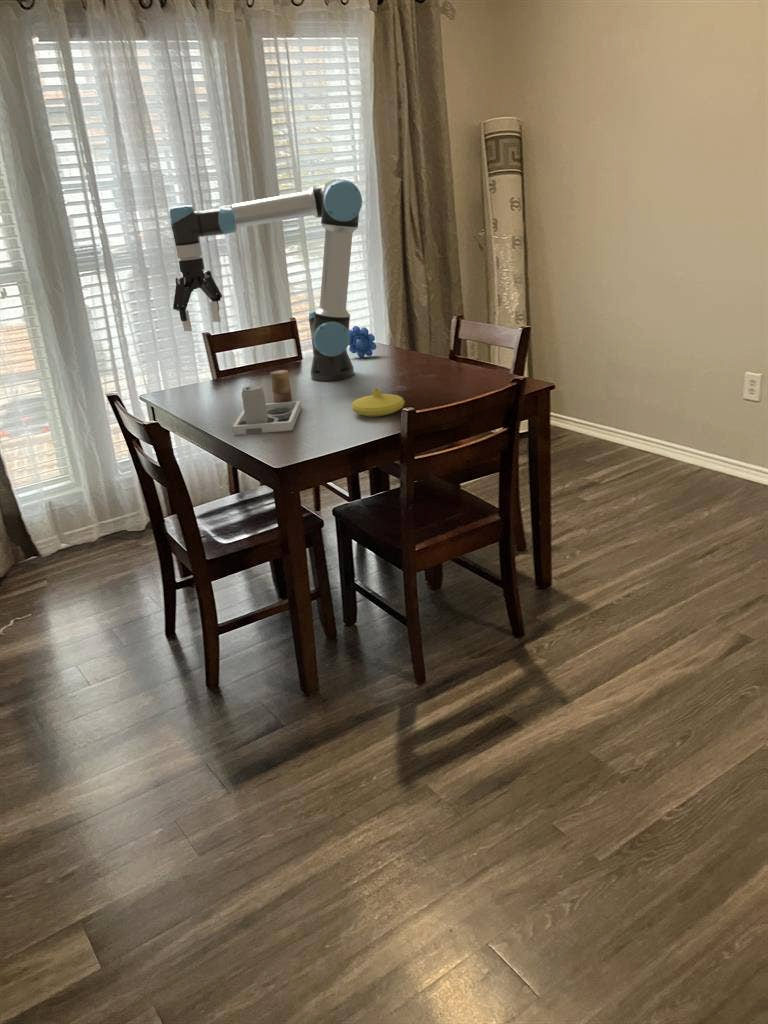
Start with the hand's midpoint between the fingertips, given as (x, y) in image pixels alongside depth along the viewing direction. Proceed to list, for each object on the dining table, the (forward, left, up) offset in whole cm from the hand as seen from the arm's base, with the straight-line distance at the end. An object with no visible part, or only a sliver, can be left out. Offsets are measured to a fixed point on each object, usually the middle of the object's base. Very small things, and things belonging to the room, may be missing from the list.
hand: (202, 326), depth 278 cm
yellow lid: (-56, +30, -25) cm, 68 cm away
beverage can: (-20, +35, -25) cm, 47 cm away
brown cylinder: (-25, +15, -24) cm, 38 cm away
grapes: (-47, -44, -25) cm, 69 cm away
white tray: (-23, +30, -24) cm, 45 cm away
